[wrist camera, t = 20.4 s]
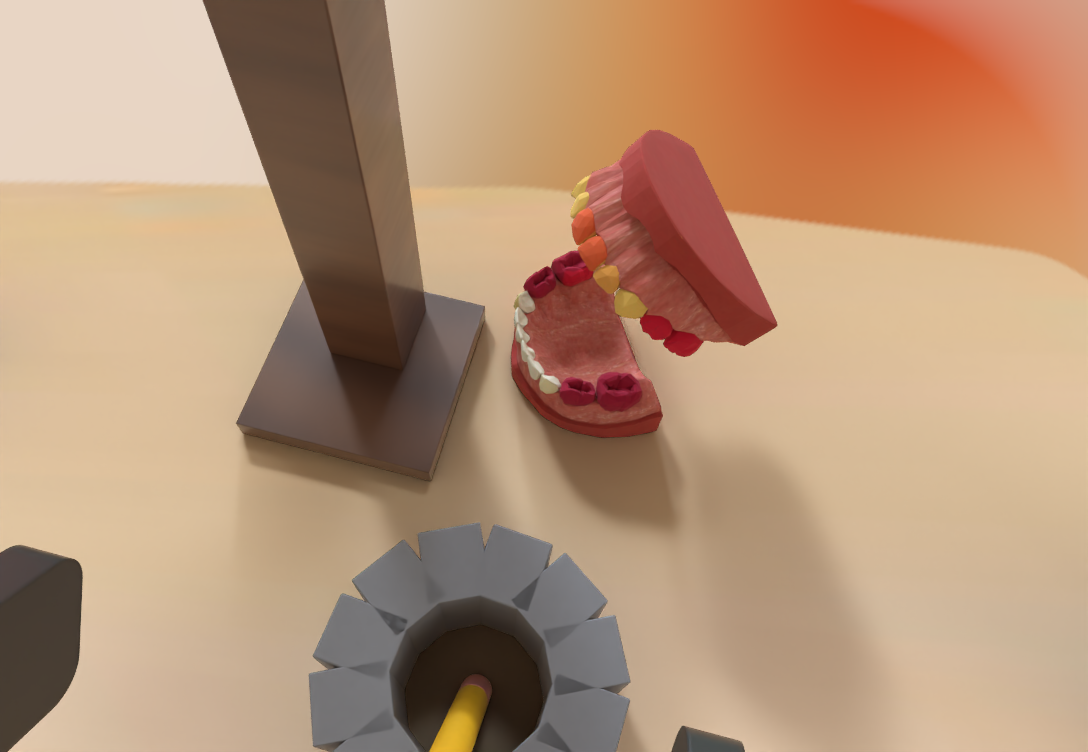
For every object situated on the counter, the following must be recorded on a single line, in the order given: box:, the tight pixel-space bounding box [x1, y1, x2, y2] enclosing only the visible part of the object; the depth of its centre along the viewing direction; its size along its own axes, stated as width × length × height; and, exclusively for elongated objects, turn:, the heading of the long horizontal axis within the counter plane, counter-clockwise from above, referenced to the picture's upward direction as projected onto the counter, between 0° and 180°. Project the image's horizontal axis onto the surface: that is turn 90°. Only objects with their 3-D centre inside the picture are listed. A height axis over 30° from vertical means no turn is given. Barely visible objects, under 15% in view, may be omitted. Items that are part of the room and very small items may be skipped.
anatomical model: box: [511, 130, 777, 438], centre depth 39 cm, size 10×8×15 cm
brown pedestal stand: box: [203, 0, 485, 481], centre depth 30 cm, size 12×10×32 cm
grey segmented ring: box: [309, 523, 630, 752], centre depth 34 cm, size 12×12×6 cm
